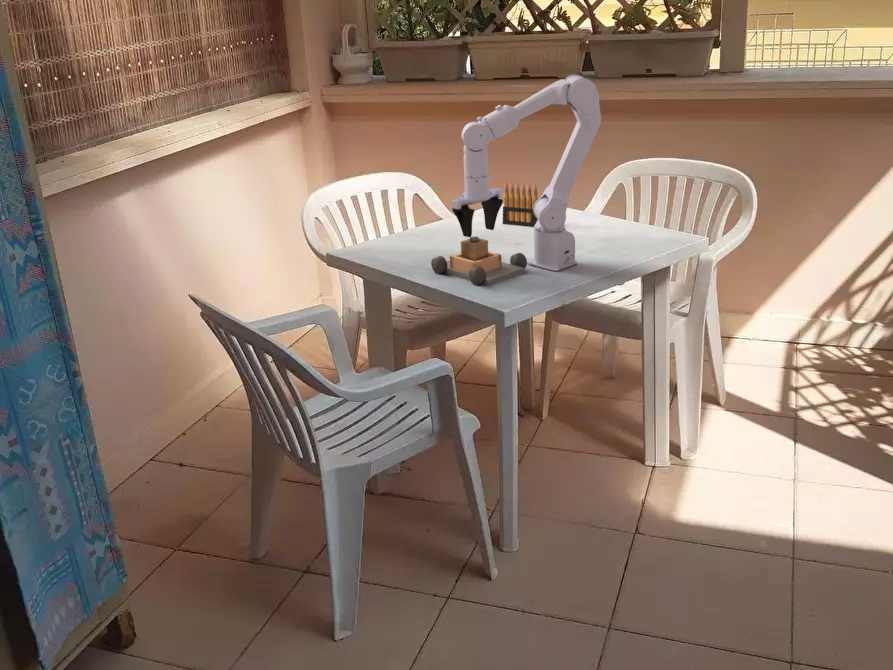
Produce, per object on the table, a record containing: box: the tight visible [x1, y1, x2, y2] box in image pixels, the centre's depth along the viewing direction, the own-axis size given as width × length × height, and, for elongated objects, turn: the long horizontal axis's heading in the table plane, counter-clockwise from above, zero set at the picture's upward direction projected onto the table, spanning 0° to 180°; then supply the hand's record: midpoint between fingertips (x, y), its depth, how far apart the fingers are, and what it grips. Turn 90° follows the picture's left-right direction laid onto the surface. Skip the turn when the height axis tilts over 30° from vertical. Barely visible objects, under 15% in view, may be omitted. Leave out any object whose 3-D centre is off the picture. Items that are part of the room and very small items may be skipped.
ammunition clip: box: [502, 181, 539, 228], centre depth 245 cm, size 11×2×12 cm, turn 60°
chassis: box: [430, 250, 528, 286], centre depth 209 cm, size 18×15×4 cm
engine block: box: [460, 235, 489, 261], centre depth 208 cm, size 4×4×7 cm
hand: (478, 232), depth 209 cm, fingers open, 7 cm apart
